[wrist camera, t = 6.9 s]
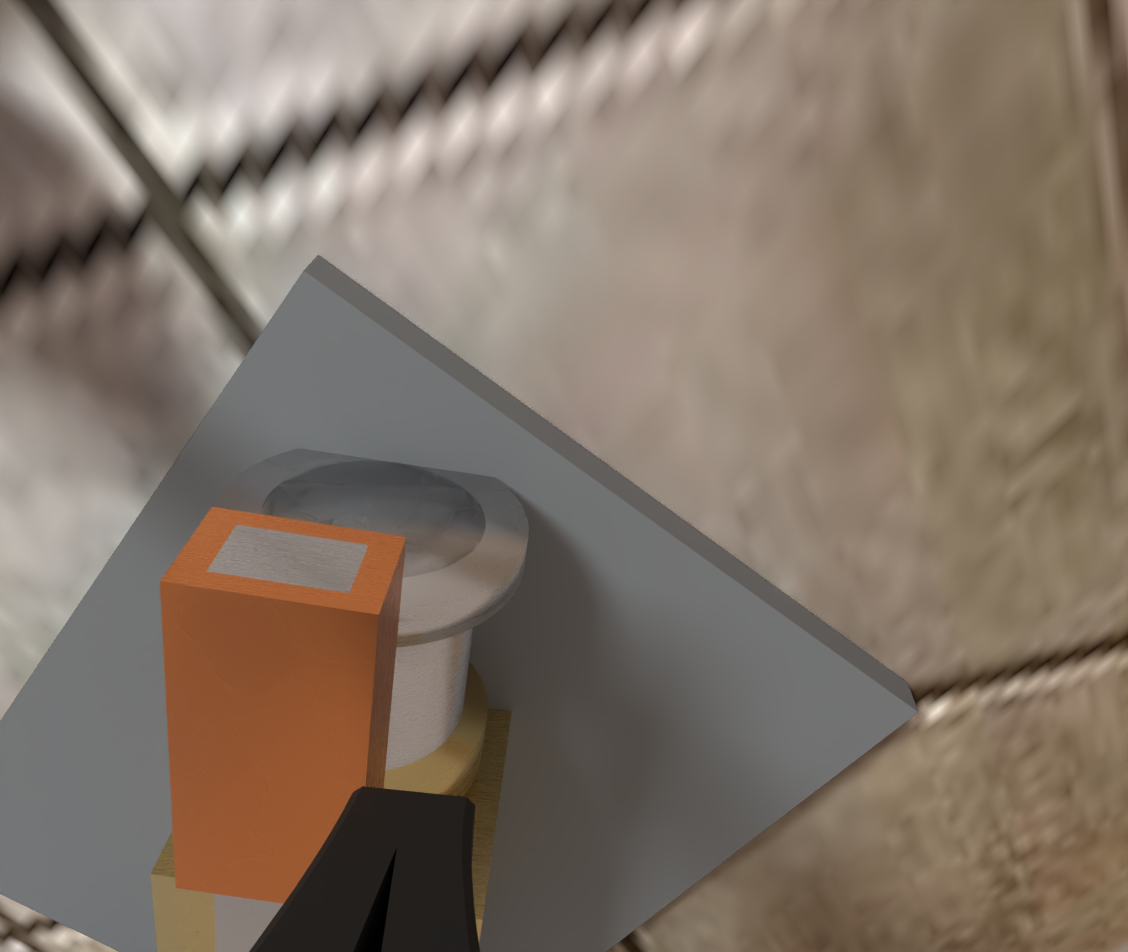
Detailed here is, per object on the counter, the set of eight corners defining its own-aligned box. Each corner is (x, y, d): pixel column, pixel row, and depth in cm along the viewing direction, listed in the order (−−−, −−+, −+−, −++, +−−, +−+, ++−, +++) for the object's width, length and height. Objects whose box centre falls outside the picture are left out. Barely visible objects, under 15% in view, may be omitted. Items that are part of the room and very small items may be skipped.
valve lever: (363, 1135, 19) (340, 1239, 17) (213, 1115, 19) (178, 1218, 17) (422, 539, 12) (395, 622, 11) (195, 504, 12) (137, 582, 11)
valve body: (467, 1002, 30) (421, 1322, 23) (262, 974, 29) (155, 1287, 23) (549, 465, 21) (513, 725, 14) (259, 423, 21) (83, 664, 14)
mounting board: (422, 1063, 31) (417, 1096, 31) (-65, 821, 27) (-88, 851, 26) (907, 682, 23) (918, 712, 22) (318, 254, 19) (303, 270, 18)
